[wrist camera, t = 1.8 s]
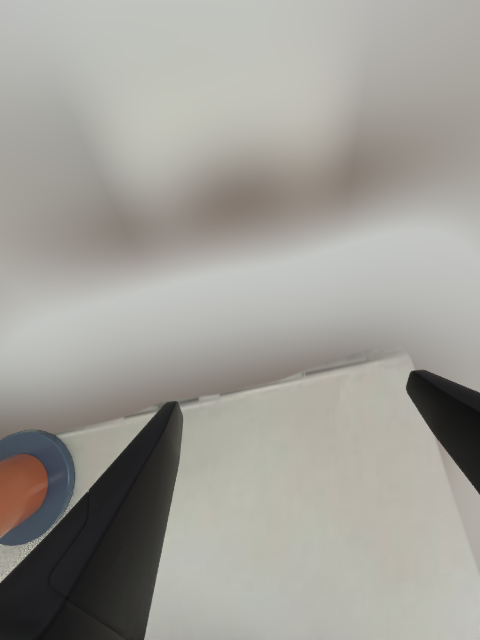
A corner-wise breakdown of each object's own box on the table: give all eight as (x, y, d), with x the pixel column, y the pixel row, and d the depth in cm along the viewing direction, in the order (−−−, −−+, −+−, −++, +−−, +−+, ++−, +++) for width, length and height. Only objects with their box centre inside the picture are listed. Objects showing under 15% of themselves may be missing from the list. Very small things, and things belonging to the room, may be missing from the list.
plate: (76, 532, 21) (69, 538, 21) (-24, 546, 22) (-35, 553, 21) (74, 422, 23) (68, 425, 22) (-18, 436, 23) (-28, 439, 23)
